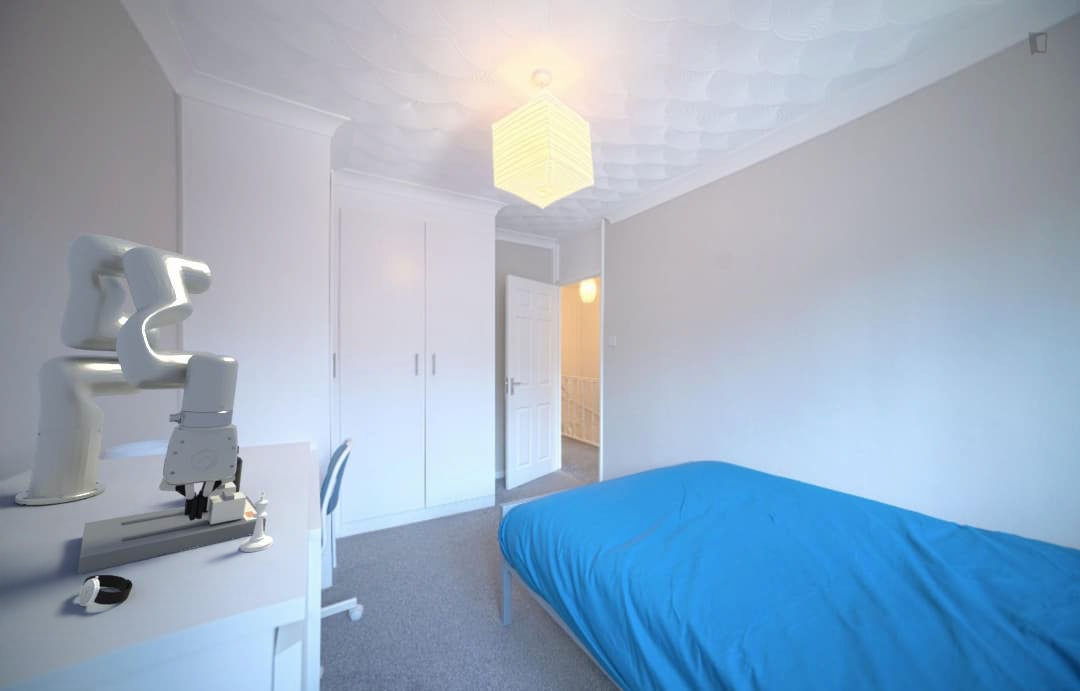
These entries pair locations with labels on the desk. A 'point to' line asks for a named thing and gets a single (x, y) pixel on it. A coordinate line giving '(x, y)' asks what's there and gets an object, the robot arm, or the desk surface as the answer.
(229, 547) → the desk surface
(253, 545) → the chess piece
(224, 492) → the switch
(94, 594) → the watch
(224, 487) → the switch
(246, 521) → the switch panel
